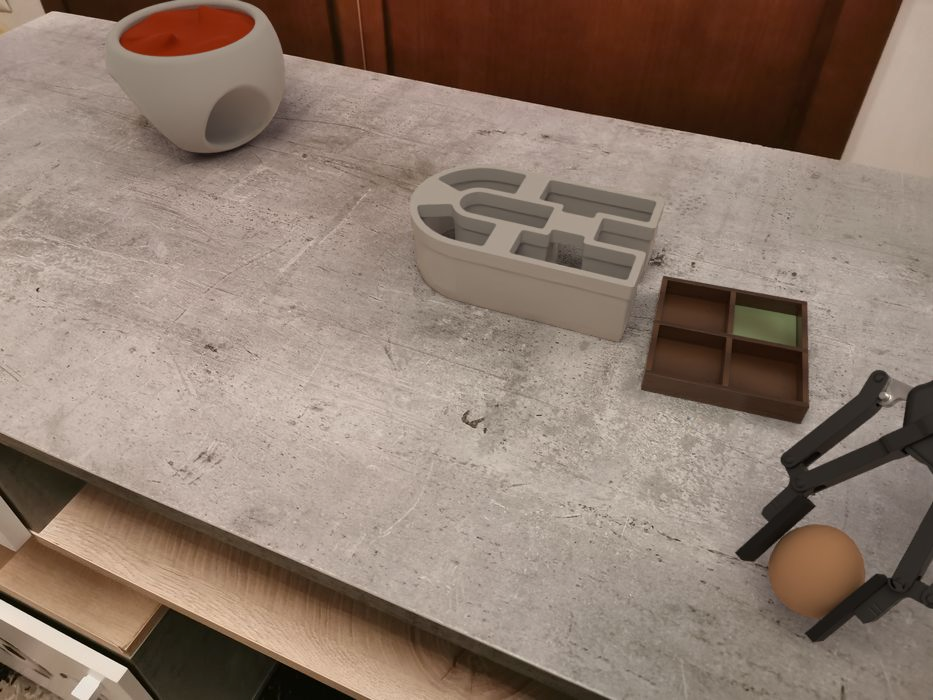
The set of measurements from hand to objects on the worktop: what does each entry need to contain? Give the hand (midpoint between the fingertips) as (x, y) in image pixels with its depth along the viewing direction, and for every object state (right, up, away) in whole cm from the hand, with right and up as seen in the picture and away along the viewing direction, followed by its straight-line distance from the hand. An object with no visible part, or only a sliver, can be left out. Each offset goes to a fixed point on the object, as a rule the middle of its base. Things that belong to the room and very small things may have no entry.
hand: (778, 595), depth 54 cm
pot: (-61, +51, +58) cm, 99 cm away
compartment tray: (+5, +18, +25) cm, 31 cm away
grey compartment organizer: (-16, +28, +35) cm, 47 cm away
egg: (+3, -1, +4) cm, 5 cm away
